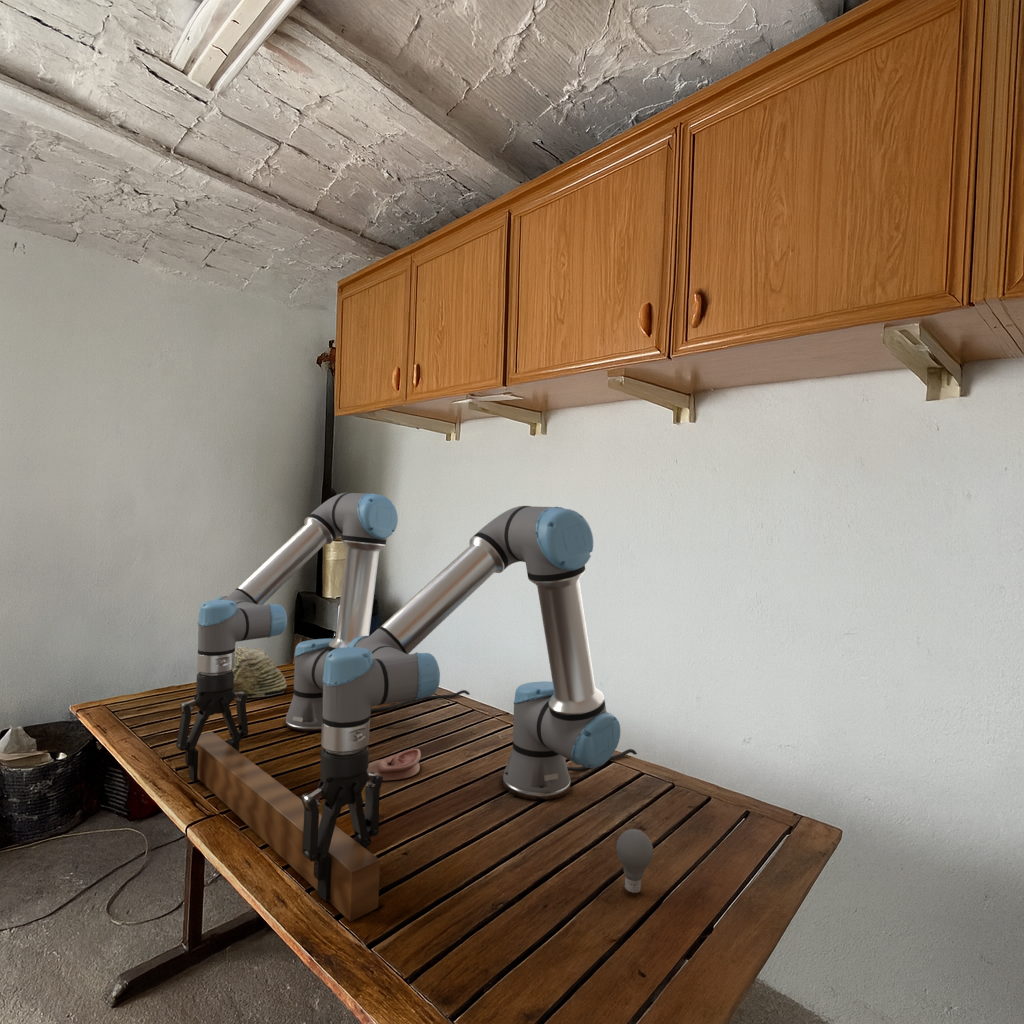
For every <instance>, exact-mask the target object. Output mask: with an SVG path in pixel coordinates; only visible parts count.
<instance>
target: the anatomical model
mask: <svg viewBox="0 0 1024 1024" xmlns="http://www.w3.org/2000/svg"><path fill="white" fill-rule="evenodd" d="M421 756H422V754H421V750H420V749H419V748H412V749H408V750H404V751H402V752H398V753H396V754H393V755H391V756H388V757H384V758H382V759H377V760H373V761H371V762H369V764H368V769H367V772H368V773H369V774H370V773H371V772H375V773H377V774H378V775H380V776H382V777H383V781H397V780H403V779H407V778H410V777H413V776H415V775H417V774H418V773H419V771H420V768H421V766H420V763H419V762H420V760H421Z"/></svg>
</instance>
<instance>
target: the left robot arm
mask: <svg viewBox="0 0 1024 1024" xmlns="http://www.w3.org/2000/svg"><path fill="white" fill-rule="evenodd" d="M398 518H399V517H398V511H397V509H396V506H395V505H394V504H393V501H392V500H390V499H389V498H388V497H387V496H385V495H383V494H377V493H371V492H366V493H365V492H342V493H339V494H336V495H334V496H332V497H330V498H328V499H327V500H325V501H324V502H323V503H321V504H320V505H319V506H318V507H316V509H314V510H313V511H312V512H311V513H310V514H309V515H308V516H306V517H305V519H304V521H303V522H304V525H303V526H301V527H300V528H299V529H298V530H297V531H296V532H295V533H294V534H293V535H292V536H291V537H289V538H288V540H286V541H285V542H284V543H283V544H282V545H281V546H280V547H279V548H278V549H277V550H276V551H275V552H273V554H271V555H270V557H268V558H267V559H266V560H265V561H264V562H263V563H262V564H261V565H260V566H259V567H258V568H257V569H255V570H254V571H253V572H252V573H251V574H250V575H249V576H248V577H247V578H245V579H244V581H243V582H242V583H241V584H240V585H239V586H237V587H236V588H235V589H234V590H233V591H232V592H230V594H228V595H224V596H219V597H217V598H214V599H212V600H207V601H204V602H202V603H201V605H200V606H199V612H198V621H197V626H198V629H197V631H198V634H197V657H196V658H197V660H196V671H197V672H198V673H197V674H196V683H195V685H196V687H195V691H196V693H195V695H194V697H193V699H191V700H189V701H187V702H186V701H181V702H180V704H179V708H180V713H181V714H180V720H179V725H178V732H177V737H176V742H175V743H176V744H175V746H176V748H177V749H178V750H179V751H181V752H184V751H185V755H184V756H185V759H184V763H185V765H186V766H187V767H189V766H190V769H189V768H188V771H189V773H188V778H189V779H190V780H191V781H192V782H193V783H195V782H198V778H197V775H198V750H197V749H196V748H195V747H196V745H197V742H198V740H199V737H200V735H201V734H202V732H203V729H204V727H205V725H206V723H207V721H208V720H209V718H210V716H213V715H215V714H221V715H222V718H223V720H224V723H225V726H226V728H227V730H228V733H229V736H230V738H227V739H226V743H228V744H229V745H230V746H232V747H233V748H234V749H236V750H237V751H238V752H240V742H242V740H243V738H244V737H247V736H248V735H249V726H248V715H247V700H248V698H247V694H246V693H244V692H243V691H240V692H234V689H233V687H234V671H233V670H232V669H234V662H235V650H236V643H237V642H243V641H251V640H258V639H264V638H267V639H268V638H269V639H270V638H271V637H275V636H280V635H282V634H283V633H284V632H285V630H286V628H287V625H288V615H287V611H286V609H285V608H284V606H282V605H281V604H278V603H267V604H265V603H266V602H267V601H268V600H269V599H270V598H272V596H273V595H275V593H277V592H278V591H279V589H281V587H283V586H284V585H285V584H286V583H287V582H288V581H289V580H290V579H291V578H293V576H294V575H295V574H296V573H297V572H298V571H299V570H300V569H301V568H302V567H303V566H304V565H305V564H306V563H307V562H309V560H310V559H311V558H312V557H313V556H315V554H317V553H318V552H319V550H321V549H322V548H323V547H324V546H325V545H331V544H332V543H333V542H334V541H335V540H336V539H338V538H339V537H341V536H342V537H341V542H342V544H343V545H344V547H346V552H345V560H344V568H343V574H342V575H343V576H342V583H341V584H342V585H341V591H340V599H339V600H340V601H339V608H338V614H337V615H338V616H337V622H336V623H337V624H336V631H335V637H334V638H317V639H308V640H304V641H300V642H299V643H297V645H296V646H295V650H294V655H293V657H294V672H293V673H294V674H293V695H292V696H293V697H292V699H291V702H290V704H289V708H288V711H287V713H286V715H285V726H286V728H287V729H289V730H291V731H294V732H295V731H296V732H301V733H316V732H322V715H323V675H324V665H325V659H326V656H327V654H328V653H329V652H330V651H332V650H334V649H338V648H343V647H347V646H348V644H349V643H350V642H351V641H352V640H353V639H355V638H357V637H360V636H370V631H371V623H372V614H373V606H374V596H375V589H376V582H377V575H378V574H377V573H378V565H379V556H380V552H381V550H383V549H384V548H385V547H386V545H387V538H389V537H391V536H392V535H393V533H395V531H396V529H397V526H398V522H399V521H398V520H399V519H398ZM462 694H466V695H467V696H469V695H471V693H470V692H469V691H468V690H465V689H462V690H460V691H457V692H455V693H451V694H438V695H437V694H436V695H431V696H427V697H423V698H420V699H418V700H415V699H414V700H408V701H401V702H397V703H395V704H392V705H387V706H381V707H375V708H371V713H375V712H381V711H386V710H390V709H391V710H392V709H396V708H398V707H402V706H404V705H406V704H407V705H408V704H410V703H415V702H420V701H427V700H433V699H435V700H436V699H449V698H455V697H458V696H459V695H462ZM233 700H234V701H235V707H236V717H237V725H236V722H235V720H234V717H233V714H232V711H231V707H230V704H232V702H233ZM195 706H196V707H197V708H198V710H197V712H196V718H195V721H194V722H193V725H192V728H191V730H190V727H191V720H192V712H193V711H194V707H195ZM237 726H238V727H237ZM189 732H190V733H189Z"/></svg>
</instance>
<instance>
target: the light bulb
mask: <svg viewBox="0 0 1024 1024" xmlns="http://www.w3.org/2000/svg"><path fill="white" fill-rule="evenodd" d="M615 849H616V854H617V857H618V859H619V861H620V863H621V865H622V867H623V873H624V874H623V875H624V876H625V878H624V888H625V890H627V891H628V892H630V893H634V894H635V893H639V892H640V891H641V889H642V887H641V886H642V879H643V877H644V875H645V871H646V868H647V867H648V866H649V864H650V863H651V861H652V859H653V855H654V847H653V843H652V841H651V838H649V836H648V835H647V834H646V833H645V832H643V831H642V830H641V829H636V828H629V829H627V830H625V831H623V832H622V833H621V834H620V835H619V837H618V839H617V841H616V847H615Z"/></svg>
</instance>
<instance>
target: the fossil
mask: <svg viewBox="0 0 1024 1024" xmlns="http://www.w3.org/2000/svg"><path fill="white" fill-rule="evenodd" d="M232 670H233V671H234V687H233V689H234V692H240V691H243V692H244V693H246V694H247V699H250V698H264V697H271V696H275V695H281V694H284V693H285V691H286V689H287V687H288V686H287V680H286V678H285V676H284V674H283V673H282V672H281V669H279V668H278V667H277V665H276V663H275V662H274V660H273V659H272V658H271V657H270V656H269V655H268V654H267V653H266V652H265V650H264V649H263V648H260V647H258V648H251V647H247V646H246V647H245V646H238V647H237V648H235V662H234V669H232Z"/></svg>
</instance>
